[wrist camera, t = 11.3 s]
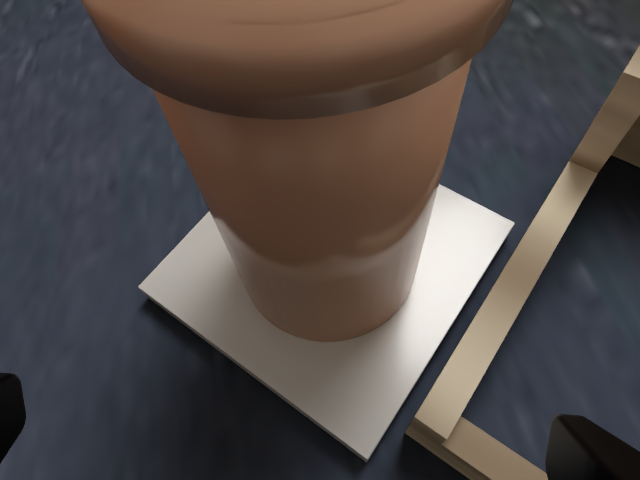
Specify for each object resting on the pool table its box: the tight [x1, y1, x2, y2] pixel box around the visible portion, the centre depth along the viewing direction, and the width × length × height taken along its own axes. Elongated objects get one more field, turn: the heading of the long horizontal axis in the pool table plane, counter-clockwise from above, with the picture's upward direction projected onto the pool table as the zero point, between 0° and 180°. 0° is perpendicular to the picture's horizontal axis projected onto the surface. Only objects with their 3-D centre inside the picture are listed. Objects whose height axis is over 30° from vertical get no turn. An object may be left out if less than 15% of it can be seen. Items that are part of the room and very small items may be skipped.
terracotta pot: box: [81, 0, 513, 342], centre depth 13 cm, size 7×7×12 cm
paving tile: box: [138, 184, 514, 463], centre depth 19 cm, size 10×10×1 cm
